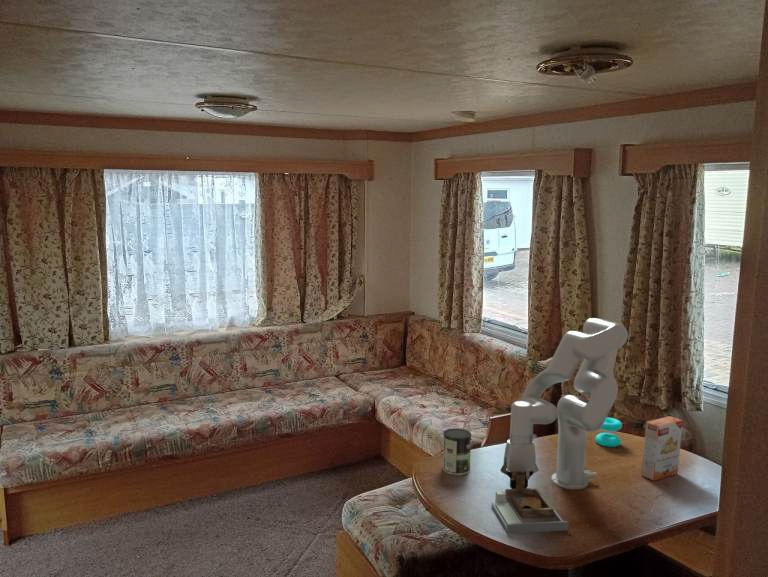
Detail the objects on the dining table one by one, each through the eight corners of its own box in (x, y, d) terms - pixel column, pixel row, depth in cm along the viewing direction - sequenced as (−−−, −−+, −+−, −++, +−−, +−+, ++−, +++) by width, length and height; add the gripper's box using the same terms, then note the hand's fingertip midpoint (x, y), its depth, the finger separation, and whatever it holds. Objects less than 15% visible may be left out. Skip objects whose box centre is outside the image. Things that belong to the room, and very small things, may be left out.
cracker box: (654, 482, 228) (659, 426, 225) (640, 476, 234) (644, 421, 231) (679, 474, 236) (683, 419, 233) (664, 468, 241) (669, 415, 238)
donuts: (599, 423, 259) (594, 415, 269) (597, 447, 260) (593, 438, 270) (625, 425, 258) (619, 417, 267) (623, 449, 259) (617, 439, 269)
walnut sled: (532, 489, 220) (533, 470, 219) (553, 516, 202) (554, 495, 201) (501, 490, 219) (502, 471, 218) (519, 518, 200) (520, 497, 199)
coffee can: (471, 465, 241) (472, 429, 239) (469, 476, 231) (470, 439, 229) (443, 462, 243) (444, 427, 241) (440, 473, 233) (441, 436, 231)
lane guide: (547, 505, 210) (547, 496, 209) (567, 531, 194) (567, 521, 193) (491, 507, 208) (492, 498, 207) (507, 534, 191) (507, 524, 191)
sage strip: (505, 502, 211) (505, 490, 210) (523, 530, 193) (524, 518, 192) (492, 502, 210) (492, 491, 210) (509, 531, 192) (509, 518, 192)
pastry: (525, 501, 213) (526, 490, 212) (545, 506, 210) (546, 495, 209) (516, 512, 205) (517, 501, 204) (537, 518, 201) (538, 506, 201)
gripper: (540, 433, 220) (537, 483, 223) (494, 434, 218) (492, 485, 221) (548, 441, 213) (545, 493, 216) (501, 443, 211) (498, 495, 213)
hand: (518, 489), depth 218 cm, fingers closed on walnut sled, 3 cm apart
